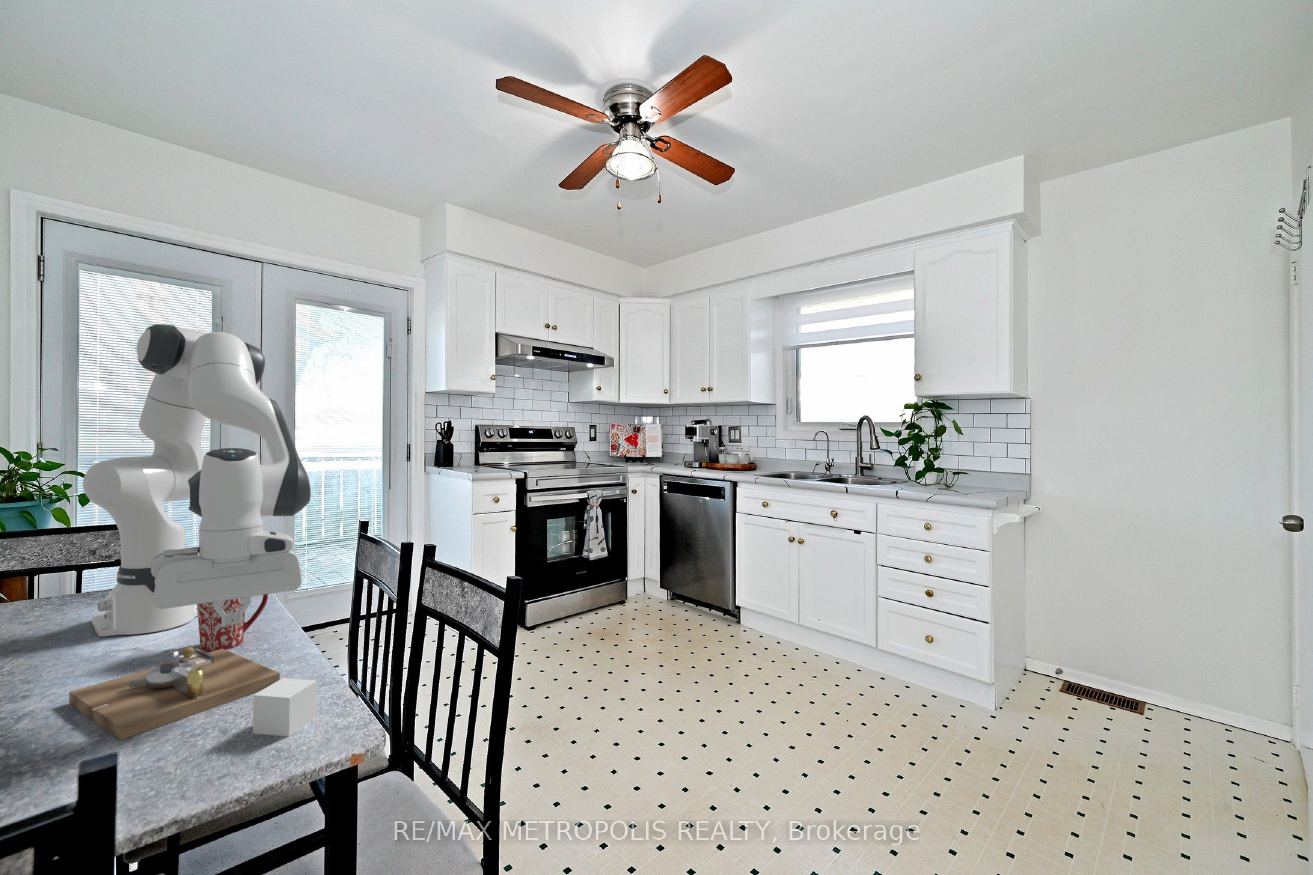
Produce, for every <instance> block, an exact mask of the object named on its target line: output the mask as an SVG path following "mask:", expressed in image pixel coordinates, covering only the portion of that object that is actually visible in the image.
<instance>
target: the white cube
mask: <svg viewBox="0 0 1313 875" xmlns="http://www.w3.org/2000/svg"><path fill="white" fill-rule="evenodd" d="M252 701H253V703H252V704H253V705H252V706H253V708H252V714H253V715H252V716H253V717H252V734H257V735H268V736H280V737H291V735H293V734H295V733H296V732H297V731H299V730H301V728H303V727H305V726H306V725H307V724H309V723H310V722H311V721H313V720H314V719H315V718H317V717H318V713H317V712H318V680H314V679H301V678H288V677H287V678H285V677H284V678H283V677H282V678H280V680H279V681H277V682H275V683H274V684H272V685H270V686H268V687H267V688H265V689H263V690H261V691H258V692H255V693H253V698H252Z"/></svg>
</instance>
